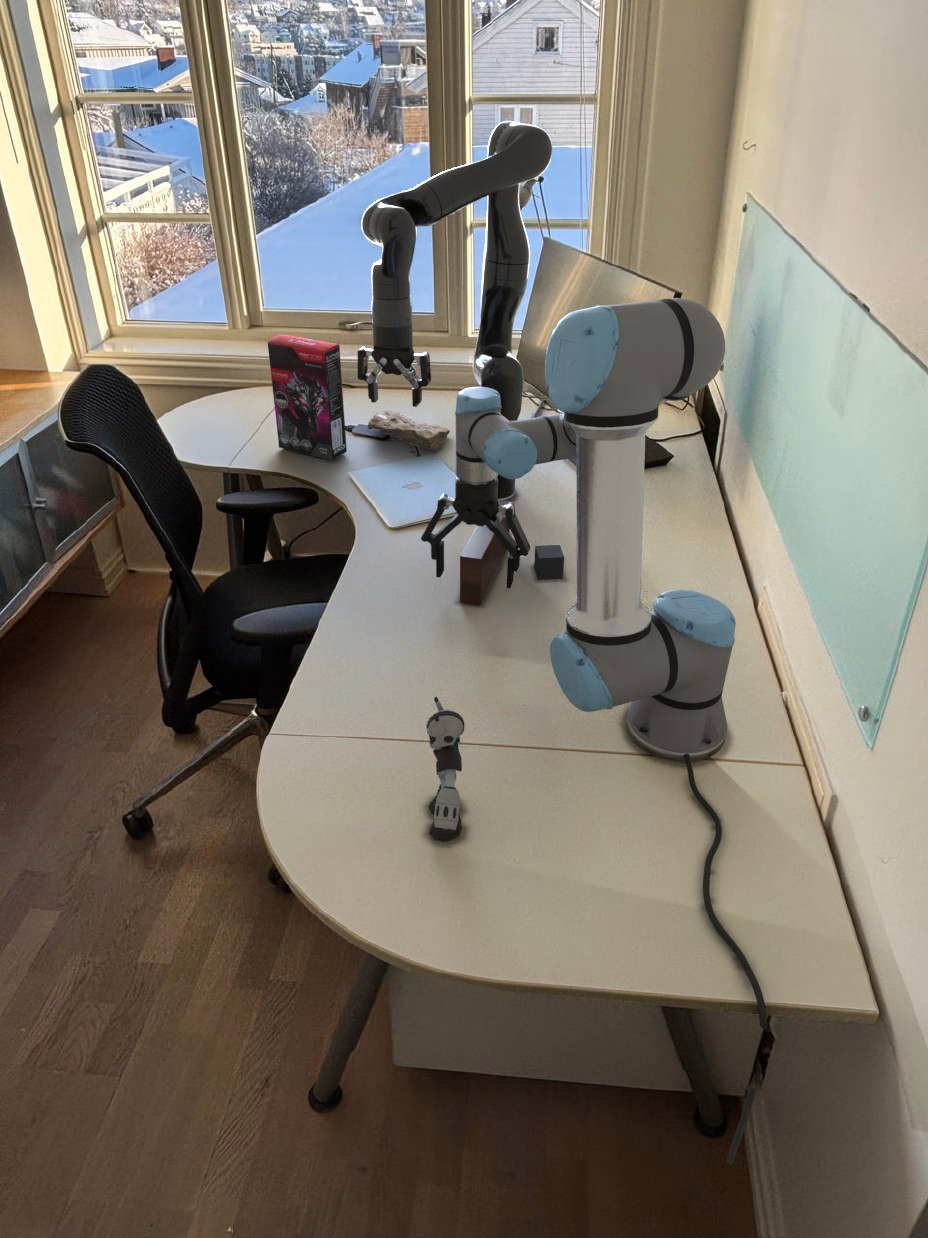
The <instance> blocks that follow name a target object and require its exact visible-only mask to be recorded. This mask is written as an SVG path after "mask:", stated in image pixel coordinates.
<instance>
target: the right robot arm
mask: <svg viewBox="0 0 928 1238" xmlns="http://www.w3.org/2000/svg"><path fill="white" fill-rule="evenodd" d="M725 355H726V340H725V334H724V331H723V328H722V326H721V323H720V322H719V320H718V319H717V318H716V316H715V315H714V313H712V311H710V310H709V309H708V308H706V307H705V306H704V305H702V304H700V303H698V302H697V301H694V300H691V299H687V298H680V297H670V298H661V299H657V300H646V301H635V302H625V303H614V304H602V305H599V304H598V305H597V304H596V305H595V306H592V307H587V308H583V309H577V310H574V311H571V312H569V313H568V314H566V315H564V316H563V317H562V318H561V319H559V321H558V323H557V324H556V326H555V328H554V329H553V330H552V333H551V335H550V338H549V340H548V343H547V347H546V352H545V359H544V380H545V387H546V386H547V387H549V388H548V392H547V395H548V397H549V399H550V402H551V403H552V405H553V406H554V407H555V408H556V409H557V410H559V411H561V412H560V413H556V414H549V415H543V416H536V418H532V417H530V418H524V419H518V420H517V421H509V420H507V419H506V418H505V417H504V416H503V415H502V414H501V413H500V411H501V408H502V406H501V400H500V394H499V393H498V392H497V391H496V390H494V389H491V388H487V387H481V386H471V387H466V388H463V389H462V390H460V391H459V392H458V394H457V395H456V402H455V412H454V415H455V466H454V467H455V471H454V472H455V479H454V480H455V484H454V485H455V487H454V488H455V489H454V490H455V491H454V492H455V494H454V495H455V496H454V497H449V495H448V494H447V493H442V494H441V495H440V497H439V499H438V500H437V506H436V510H435V512H434V514H433V516H432V517H431V519H430V521H429V523H428V524H427V526H426V528H425V530H424V532H423V533H422V535H421V537H420V540H421V541H422V542H423V543H425V542H427V543H429V544H430V557H431V560H432V561H433V560H434V561H435V577H436V578H438V579H439V578H440V579H441V577H442V575H443V573H444V572H445V540H443V539H444V538H445V537H446V536H448V535H449V534H450V533H451V532H452V531H453V530H454V529H455V528H456V527H458V526H459V525H460V524H461V523H462V522H463V523H465V524H466V525H468V526H476V527H477V526H481V527H483V526H484V525H486V526H487V528H488V529H489V530H490V531H492V532H493V533H494V534H495V535H496V537H497V538H498V539H499V540H500V542H501V543H502V544H503V545H504V547H505V548H506V549H507V550H506V551H507V552H508V553H509V554H508V556H507V564H506V584H505V588H506V589H512V588H511V587H512V585H513V583H514V575H515V573H517V572H518V571H519V568H520V566H521V557H522V556H523V557H527V556H529V553H530V550H531V548H532V547H531V544H530V542H529V540H528V538H527V536H526V533H525V531H524V529H523V527H522V525H521V523H520V520H519V518H518V516H517V514H516V505H515V503H514V502H512V501H510V502H511V503H509V504H508V505H499V503H498V500H497V495H498V478H497V476H498V474H499V475H501V476H502V477H504V478H507V479H515V480H518V479H521V478H522V477H524V476H525V475H526V474H528V473H531V471H532V470H533V468H534V467H535V465H540V464H547V463H551V462H557V461H562V460H563V461H564V460H569V459H576V460H575V461H576V470H575V471H576V603H575V604H574V605H573V606H571V608H569V609H568V610H567V611H566V614H565V619H566V620H565V632H559V633H558V634H557V635H555V636H553V638H552V640H551V641H550V644H549V657H550V663H551V666H552V670H553V674H554V676H555V678H556V681H557V683H558V685H559V687H560V689H561V691H562V693H563V694H564V696H565V697H566V699H567V700H568V701H569V703H570V704H571V705H573V707H575V708H576V709H577V710H579V711H581V712H585V713H594V712H598V711H602V710H612V709H613V708H615V707H619V706H623V705H625V704H628V703H630V704H629V705H628V707H627V711H626V719H625V728H626V732H627V734H628V736H629V738H630V739H631V741H632V742H634V744H636V745H637V746H638V747H639V748H640V749H641V750H643V751H645V752H646V753H648V754H650V755H651V756H654V757H656V758H659V759H662V760H666V761H670V762H675V763H684V764H685V766H686V770H687V775H688V783H689V786H690V789H691V792H692V793H693V795H694V797H695V799H696V800H697V801H698V802H699V804H700V805H701V806H702V808H703V809H704V810H705V811H706V812H707V813H708V815H709V816H710V817H711V819H712V821H713V823H714V827H715V828H714V829H715V835H714V839H713V842H712V844H711V846H710V848H709V850H708V852H707V854H706V857H705V860H704V866H703V867H704V868H703V875H702V876H703V877H702V896H703V897H702V898H703V902H704V907H705V909H706V913H707V916H708V918H709V920H710V923H711V924H712V926H713V927H714V929H715V930H716V932H717V933H718V935H719V936H720V937H721V938H722V939H723V942H725V943H726V944H727V945H728V947H729V948H730V950H731V951H732V952H733V954H734V955H735V956H736V958H737V959H738V961H739V963H740V965H741V967H742V968H743V971H744V973H745V975H746V976H747V978H748V980H749V982H750V986H751V987H752V990H753V993H754V996H755V1000H756V1005H757V1010H758V1017H759V1018H758V1019H759V1026H760V1027H761V1029H762V1030H767V1029H768V1026H769V1025H768V1015H767V1008H766V1003H765V999H764V995H763V992H762V989H761V986H760V984H759V982H758V979H757V977H756V975H755V973H754V971H753V969H752V967H751V965H750V963H749V961H748V959H747V957H746V955H745V954H744V952H743V951H742V950H741V948H740V947H739V946H738V944H737V943H736V942H735V941H734V939H733V938H732V937H731V936H730V934H728V931H726V930H725V928H724V927H723V926H722V924H721V922H720V920H718V917H717V915H716V912H715V910H714V907H713V904H712V900H711V891H710V884H711V872H712V865H713V860H714V857H715V855H716V852H717V851H718V849H719V846H720V844H721V842H722V837H723V827H722V823H721V820H720V818H719V816H718V814H717V813H716V811H715V810H714V809H713V807H712V806H711V805H710V803H708V801H707V800H706V799H705V798H704V797H703V795H702V794H701V792H700V791H699V789H698V787H697V784H696V779H695V773H694V769H693V765H692V763H694V762H700V761H703V760H706V759H709V758H711V757H714V755H716V754H718V752H720V751H721V750H722V748H723V747H724V744H725V743H726V740H727V739H726V738H727V734H728V721H727V716H726V712H725V708H724V707H725V706H724V701H723V692H724V686H725V682H726V678H727V674H728V669H729V664H730V660H731V654H732V652H733V647H734V644H735V642H736V638H735V632H736V627H737V626H736V617H735V616H734V614H733V612H732V611H731V609H730V608H729V607H728V606H727V605H726V604H724V603H723V602H722V601H720V600H719V599H717V598H715V597H712V596H710V595H708V594H705V593H703V592H699V591H695V590H690V589H671V590H666V591H664V592H662V593H660V594H659V595H658V596H657V597H656V598H657V599H656V600H655V601H654V602H653V611H651V612H650V610H649V609H647V607H645V606H644V605H643V604H642V603H641V600H642V565H643V533H644V532H643V529H644V528H643V527H644V493H645V492H644V491H645V463H646V462H645V461H646V460H645V458H646V457H645V456H646V433H647V432H648V430H649V429H650V428H651V427H652V426H653V425H654V424H655V423H656V422H657V421H658V420H659V408H660V406H662V405H663V404H665V403H666V402H668V401H670V402H679V401H683V400H685V399H687V398H689V397H690V396H693V394H696V393H697V392H699V391H701V390H702V389H703V388H705V387H706V386H707V385H709V383H711V382H712V380H713V379H714V378H716V377H717V375H718V374H719V372H720V371H721V368H722V366H723V363H724V359H725ZM450 507H453V509H454V511H455V512H456V514H455V515H454V516H453V517H452V518H451V519H449V521H448V522H447V523H445V525H444V526H442V527H441V528H440V529H439V530H438V531H437V532H436V533H435V534H434V533H433V531H434V530H435V528H436V526H437V525H438V524H439V523H438V522H439V521H440V519H441V517H442V516H443V514H444V512H445V511H446V510H449V509H450ZM498 512H501V513H502V515H503V517H504V518H506V521H507V524H508V526H509V528H510V534H509V532H508V531H507V530H506V529H505V527H504V526H503V525H502V523H501V522H500V519H499V518H498V516H497V515H496V514H497V513H498ZM491 520H492V521H491ZM756 1094H757V1088H756V1087H751V1086H749V1088H748V1090H747V1094H746V1099H745V1102H744V1105H743V1109H742V1112H741V1115H740V1118H739V1120H738V1123H737V1126H736V1129H735V1133H734V1134H733V1139H732V1142H731V1144H730V1148H729V1150H728V1154H727V1158H726V1163H727V1164H728V1165H730V1166H731V1165H733V1164H734V1162H735V1159H736V1155H737V1153H738V1149H739V1146H740V1143H741V1140H742V1137H743V1135H744V1132H745V1129H746V1126H747V1123H748V1120H749V1118H750V1115H751V1112H752V1108H753V1104H754V1100H755V1098H756Z"/></svg>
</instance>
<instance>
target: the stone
mask: <svg viewBox="0 0 928 1238" xmlns="http://www.w3.org/2000/svg"><path fill="white" fill-rule="evenodd" d="M367 429H369V430H378V431H380V433H381V434H383V435H386V436H389V437H390V440H392V441H401V442H403V443H405V444H409V445H411V446H414V447H419V448H422V447H423V448H425V449H428V450H430V451H437V450H439V448H440V447H441V444H442V443H443V441H444V440H445V439H446V438H448V435H449V434H450V431H451V430H450V429H449V428H447V427H444V426H441V425H438V424H429V423H425V422H419V421H415V420H412V418H408V417H406V416H404V415H403V414H401V413H400V412H397V411H393V410H384V411H376V412H375V413H374V414H373V415H372V416H371V417H370V419H369V421H368V422H367Z"/></svg>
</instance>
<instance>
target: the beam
mask: <svg viewBox="0 0 928 1238" xmlns="http://www.w3.org/2000/svg"><path fill="white" fill-rule="evenodd" d="M511 502H512V501H500V500H498V503H499V505H508V504H509V503H511ZM496 515H497V516H498V518H499V519H500V522H501V523H502V525H503V526H504V527H505V529H506V530H507V531H508V532H509V534H510V535H511V530H510V528H509V526H508V524H507V521H506V518H504V517H503V515H502V513H501V512H498V513H497V514H496ZM491 521H492V520H491ZM507 551H508V550H507V549H506V548H505V547H504V545H503V544H502V543H501V542H500V540H499V539H498V538H497V537H496V535H495V534H494V533H493V532H492V531H490V530H489V529H488V528H487V526H486V525H484V526H483V527H481V526H477V525H476V527H475V529H474V531H473V532H472V533H471V536H470V538H469V539H468V541H467V543H466V545H465V547H464V548H463V550H462V552H461V554H460V555H459V603H461V604H462V603H463V604H469V605H476V606H481V605H482V603H483V601H484V598H485V596H486V594H487V592H488V590H489V588H490V586H491V584H492V582H493V579H494V577H495V576H496V573H497V572H498V569H499V567H500V566H501V563H502V560H504V559H503V558H504V557H505V555H506V552H507Z"/></svg>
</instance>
